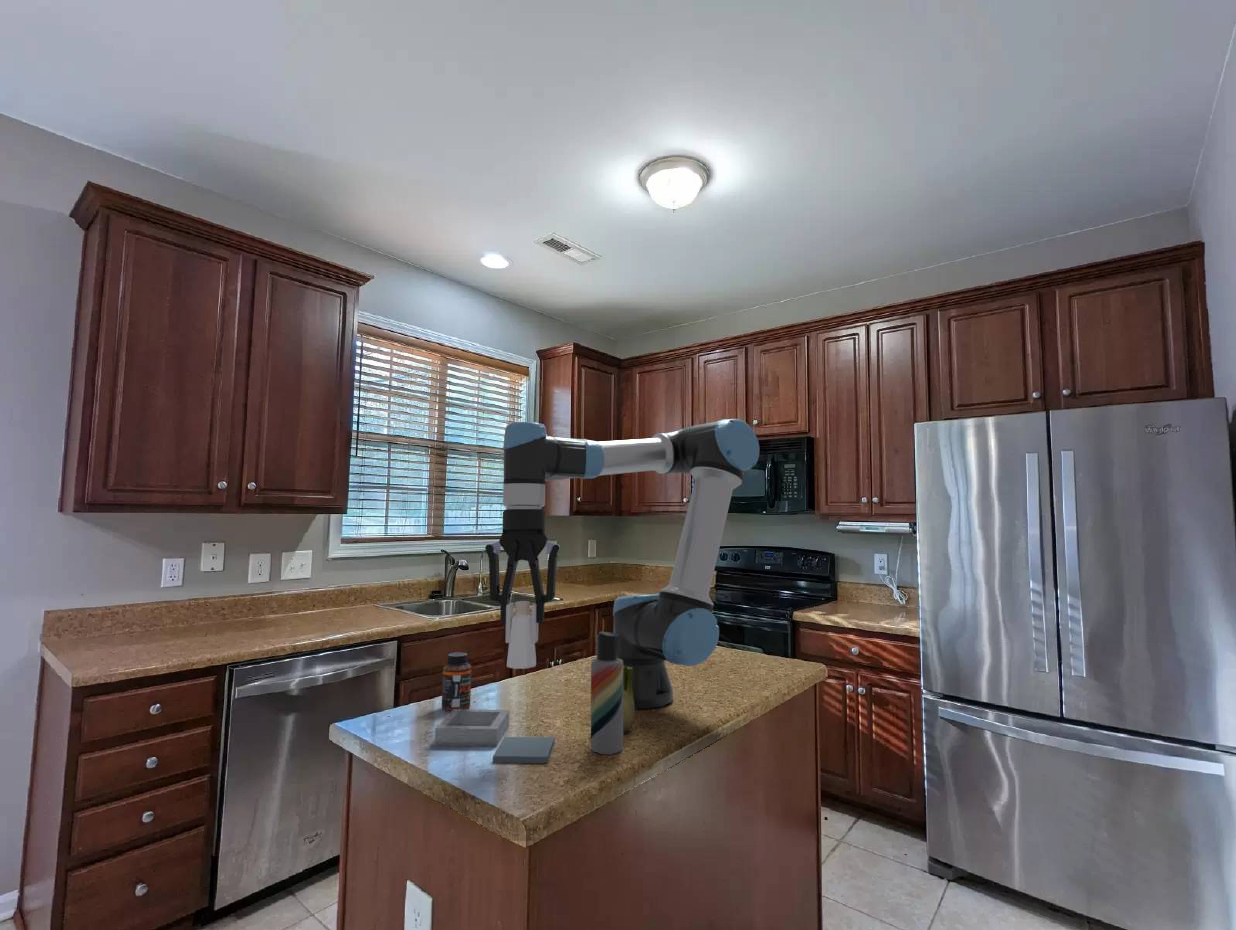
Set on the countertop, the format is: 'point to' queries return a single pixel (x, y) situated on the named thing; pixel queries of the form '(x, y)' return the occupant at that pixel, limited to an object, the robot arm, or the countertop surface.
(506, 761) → the mat
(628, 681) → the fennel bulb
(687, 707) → the countertop surface
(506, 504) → the robot arm
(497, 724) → the gray square tray
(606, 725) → the lotion bottle
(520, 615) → the salt shaker
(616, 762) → the countertop surface
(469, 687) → the supplement bottle
